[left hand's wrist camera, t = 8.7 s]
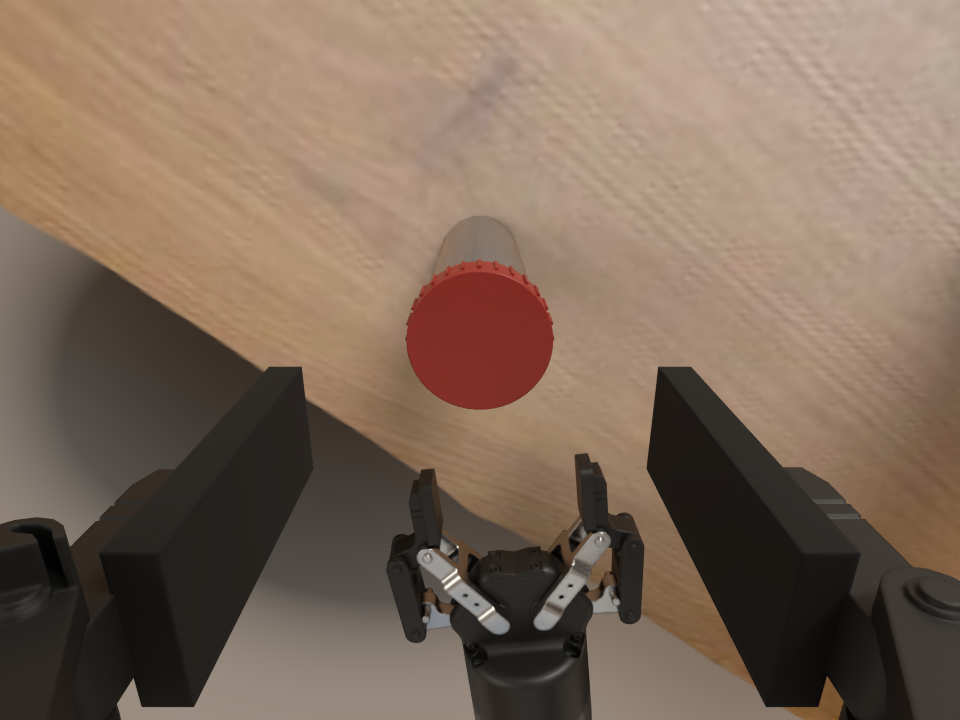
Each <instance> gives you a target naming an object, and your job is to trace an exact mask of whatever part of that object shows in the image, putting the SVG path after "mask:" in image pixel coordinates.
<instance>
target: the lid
mask: <svg viewBox="0 0 960 720" xmlns="http://www.w3.org/2000/svg"><path fill="white" fill-rule="evenodd" d="M411 310H413V312H412V313H410V316H409V318H408V321H407V324H406V325H408V329H407V335H406V341H407V351H408V356H409V360H410V362H411V365H412V368H413V370H414V372H415V373H416V375H417V377H418V378H419V379H420V381H421V382H422V383H423V384H424V386H425V387H426V388H427V389H428V390H430V391H431V392H432V393H433V394H434V395H436V396H437V397H439V398H440V399H442V400H444V401H446V402H448V403H450V404H453V405H455V406H458V407H462V408H467V409H476V410H478V409H492V408H497V407H501V406H504V405H507V404H510V403H512V402H514V401H516V400H518V399H520V398H521V397H522V396H524V395H525V394H527V393H528V392H529V391H530V390H531V389H532V388H533V387H534V386H535V385H536V384H537V383H538V382H539V380H540V379H541V378H542V376H543V374H544V373H545V371H546V369H547V367H548V365H549V361H550V358H551V355H552V349H553V340H554V336H553V332H552V326H551V325H553V321H552V319H551V316H550V314H549V312H548V313H547V311H546V310H548V306H547V304H546V301H545V299H544V298H543V299H542V298H541V297H540V293H539V290H538V288H537V286H536V285H534V286H533V285H532V284H531V283H530V282H529V281H528V279H527V276H526V275H525V274H523V275H521V274H520V273H519V272H517V271H515V270H514V269H513V266H511V265H510V266H509V267H507V266H504V265H502V264H498V261H496V260H494V262H487V261H481V259H478V261H472V262H465V260H464V261H462V263H461V264H458V265H455V266H453V267H450V266H447V267H446V270H445V271H443V272H441V273H440V274H438V275H436V274H435V275H433V278H432V280H431V281H430V282H429V283H428V284H427V285H426V286H425V285H424V286H423V287H422V289H421V292H420V294H419V298H418V299H416V298H415V300H414V303H413V305H412V308H411Z"/></svg>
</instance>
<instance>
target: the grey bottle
mask: <svg viewBox="0 0 960 720" xmlns="http://www.w3.org/2000/svg"><path fill="white" fill-rule="evenodd" d="M478 259H481V261H487V262H494V260H496V261H498V264H502V265H504V266H507V267H509V266H510V265H511V266H513V269H514V270H515V271H517V272H519V273H520V274H521V275H523V274H525V275H526V276H527V274H526V271H525V268H524V265H523V262H522V259H521V256H520V253H519V250H518V247H517V244H516V241H515V239H514V237H513V235H512V233H511V232H510V230H509V229H508V228H507V227H506V226H505V225H504V224H502V223H501V222H499V221H498V220H496V219H493V218H490V217H485V216H475V217H470V218H467V219H464V220H462V221H461V222H459V223H457V224H456V225H455V226H454V227H453V228H452V229H451V230H450V231H449V233H448V234H447V236H446V238H445V241H444V243H443V246H442V249H441V252H440V255H439V258H438V261H437V264H436V267H435V270H434V273H433V275H435V274H436V275H438V274H440V273H441V272H443V271H445V270H446V267H447V266H450V267H453V266H455V265H458V264H461V263H462V261H464V260H465V262H472V261H478ZM432 278H433V276H432ZM527 279H528V277H527ZM431 280H432V279H431ZM528 281H529V279H528Z"/></svg>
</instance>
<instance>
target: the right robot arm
mask: <svg viewBox="0 0 960 720" xmlns="http://www.w3.org/2000/svg"><path fill="white" fill-rule="evenodd" d="M575 470H576V484H577V498H578V509H579V513H580V516H579V517H578V518H577V520H576V521H575V522H574V523H573V525H572V526H571V527H570V529H569V530H568V531H566V530H564V531H562V532H561V534H560V535H559V536H558V537H557V539H556V540H555V541H554V543H553V544H552V545H551V547H550V548H549V549H548V550H547V552H546V551H542V550H541V549H540V546H538V547H528V548H524V549H521V550H518V551H515V552H512V551H504V550H497V551H488V556H485V557H482V556H481V555H480V554H479V553H477V552H476V551H475V550H474V549H473V548H471V547H470V546H469V545H468V544H467V543H466V542H464V541H462V540H460V541H457V540H455V539H454V538H453V537H452V536H451V535H449V534H448V533H447V532H446V531H445V530H443V529H442V525H443V517H442V511H441V505H440V499H439V493H438V487H437V481H436V475H435V470H434V469H424V470H421V474H420V479H419V480H414V482H413V485H412V490H411V495H410V500H409V506H410V511H411V516H412V522H413V527H414V533H413V534H411V535H405V534H399V535H397V536H395V537H394V538H393V541H392V546H391V548H392V549H391V554H390V559H389V561H388V564H387V569H386V571H387V575H388V578H389V581H390V585H391V588H392V592H393V595H394V598H395V602H396V605H397V609H398V612H399V615H400V619H401V622H402V625H403V629H404V632H405V636H406V638H407V639H408V640H409V641H410V642H413V643H419V642H422V641H423V640H424V639H425V638H426V631H427V630H431V629H438V628H446V627H452V628H453V630H454V631H455V632H456V633H457V634H458V635H459V636H460V638H461V640H462V643H463V649H464V655H465V661H466V667H467V673H468V679H469V684H470V690H471V696H472V703H473V708H474V714H475V720H592V715H591V698H590V682H589V668H588V654H587V640H586V626H587V624H588V622H589V620H590V619H591V617H592V614H599V613H619V617H620V620H621V621H622V622H623V623H625V624H633V623H636V622H637V621H638V620H639V619H640V617H641V601H642V581H643V562H644V544H643V542H642V539H641V537H640V534H639V532H638V529H637V527H636V524H635V522H634V519H633V517H632V516H631V515H630V514H628V513H620V514H618V515H616V516H615V515H611V514H609V513H608V504H607V484H606V481H605V478H604V475H603V473H602V470H601V468H600V466H599V464H598V462H594V463H591V462H590V459H589V456H588V453H585V454H575ZM608 547H610V548H612V572H611V571H606V572H605V573H604V577H603V578H602V580H601V583H600V585H599V587H598V588H597V589H595V590H591V591H589V589H588V587H587V586H586V585H585V583H586V582H587V581H588V579H589V577H590V575H591V569H592V567H593V565H594V564H595V563H596V562H597V560H598V559H599V558H600V557H601V555H602V554H603V553H604V552H605V550H606V549H607V548H608ZM420 565H421V566H423V567H424V568H425V569H426V570H427V571H429V572H430V573H431V574H432V575H434V576H435V577H436V578H437V579H439V580H440V581H441V583H442V585H443V588H444V590H445V591H446V592H447V593H448V594H449V595H450V596H451V597H452V600H451V603H450V604H445V603H442V602H441V601H440V600H439V599H438V597H437V596H436V594H434V593H433V590H432V589H431V588H426V589H425V586H424V582H423V578H422V575H421V571H420V567H419V566H420Z"/></svg>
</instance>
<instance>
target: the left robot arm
mask: <svg viewBox="0 0 960 720" xmlns="http://www.w3.org/2000/svg"><path fill="white" fill-rule="evenodd" d="M312 470H313V462H312V453H311V444H310V435H309V427H308V418H307V409H306V400H305V392H304V383H303V374H302V367H268V369H267V370H266V371H265V372H264V373H263V374H262V375H261V376H260V377H259V378H258V379H257V381H256V382H255V383H254V384H253V385H252V386H251V387H250V388H249V389H248V390H247V392H246V393H245V394H244V395H243V396H242V397H241V398H240V399H239V400H238V401H237V402H236V404H235V405H234V406H233V407H232V408H231V409H230V410H229V411H228V412H227V413H226V414H225V416H224V417H223V418H222V419H221V420H220V421H219V422H218V423H217V424H216V425H215V427H214V428H213V429H212V430H211V431H210V432H209V433H208V434H207V435H206V436H205V438H204V439H203V440H202V441H201V442H200V443H199V444H198V445H197V446H196V447H195V448H194V450H193V451H192V452H191V453H190V454H189V455H188V456H187V457H186V458H185V459H184V460H183V462H182V463H181V464H180V465H179V466H178V467H177V468H176V469H159V470H157V471H155V472H153V473H152V474H150V475H148V476H146V477H145V478H143V479H141V480H140V481H138V482H136V483H134V484H133V485H132V486H131V487H130V488H129V489H128V490H127V491H126V492H125V493H124V494H123V495H122V496H121V497H120V498H119V499H118V500H117V501H116V502H115V505H114V506H111V507H110V508H109V509H108V510H107V511H106V512H105V513H104V514H103V515H102V516H101V517H100V520H99V521H96V522H95V523H94V524H93V525H92V526H91V527H90V528H89V529H88V530H87V531H86V532H85V533H84V534H83V535H82V536H81V537H80V538H79V539H78V540H77V541H76V542H75V543H74V544H73V545H72V546H71V547H70V546H69V543H68V540H67V536H66V533H65V529H64V526H63V525H62V524H60V523H59V522H57V521H56V520H54V519H47V518H38V517H36V518H28V519H19V520H14V521H10V522H6V523H3V524H0V720H121V718H120V713H119V710H118V706H117V703H118V701H119V700H120V698H121V696H122V695H123V693H124V692H125V690H126V689H127V687H128V686H129V684H130V682H131V681H132V679H133V678H134V681H135V684H136V688H137V692H138V695H139V699H140V702H141V706H142V707H194V706H195V704H196V702H197V700H198V698H199V696H200V694H201V692H202V690H203V688H204V686H205V684H206V682H207V680H208V678H209V676H210V674H211V672H212V670H213V668H214V666H215V664H216V662H217V660H218V658H219V656H220V654H221V652H222V650H223V648H224V646H225V644H226V642H227V640H228V638H229V636H230V634H231V632H232V630H233V628H234V626H235V624H236V622H237V620H238V618H239V616H240V614H241V612H242V610H243V608H244V606H245V604H246V602H247V600H248V598H249V596H250V594H251V592H252V590H253V588H254V586H255V584H256V582H257V580H258V578H259V576H260V574H261V572H262V570H263V568H264V566H265V564H266V562H267V560H268V558H269V556H270V554H271V552H272V550H273V548H274V546H275V544H276V542H277V540H278V538H279V536H280V534H281V532H282V530H283V528H284V526H285V524H286V522H287V520H288V518H289V516H290V514H291V512H292V510H293V508H294V506H295V504H296V502H297V500H298V498H299V496H300V494H301V492H302V490H303V488H304V486H305V484H306V482H307V480H308V478H309V476H310V474H311V472H312ZM647 470H648V472H649V474H650V476H651V478H652V480H653V482H654V484H655V486H656V488H657V490H658V492H659V494H660V496H661V498H662V500H663V502H664V504H665V506H666V508H667V510H668V512H669V514H670V516H671V518H672V520H673V522H674V524H675V526H676V528H677V530H678V532H679V534H680V536H681V538H682V540H683V542H684V544H685V546H686V548H687V550H688V552H689V554H690V556H691V558H692V560H693V562H694V564H695V566H696V568H697V570H698V572H699V574H700V576H701V578H702V580H703V582H704V584H705V586H706V588H707V590H708V592H709V594H710V596H711V598H712V600H713V602H714V604H715V606H716V608H717V610H718V612H719V614H720V616H721V618H722V620H723V622H724V624H725V626H726V628H727V630H728V632H729V634H730V636H731V638H732V640H733V642H734V644H735V646H736V648H737V650H738V652H739V654H740V656H741V658H742V660H743V662H744V664H745V666H746V668H747V670H748V672H749V674H750V676H751V678H752V680H753V682H754V684H755V686H756V688H757V690H758V692H759V694H760V696H761V698H762V700H763V702H764V704H765V706H766V707H818V706H819V702H820V699H821V695H822V692H823V688H824V684H825V681H826V677H827V676H828V678H829V679H830V681H831V682H832V684H833V686H834V687H835V689H836V690H837V692H838V693H839V695H840V696H841V698H842V699H843V701H844V703H843V706H842V710H841V713H840V716H839V720H960V581H959V580H957V579H955V578H953V577H951V576H948V575H945V574H942V573H939V572H936V571H933V570H930V569H924V568H917V567H912V566H911V565H910V564H909V563H908V562H907V561H906V560H905V559H904V558H903V557H902V556H901V555H900V554H899V553H898V552H897V551H896V550H895V549H894V548H893V547H892V546H891V545H890V544H889V543H888V542H887V541H886V540H885V539H884V538H883V537H882V536H881V535H880V534H879V533H878V532H877V531H876V530H875V529H874V528H873V527H872V526H871V525H870V524H869V523H868V522H867V521H866V520H865V519H861V515H860V514H859V513H858V512H857V511H856V510H855V509H854V508H853V507H852V506H851V505H850V504H846V500H845V499H844V498H843V497H842V496H841V495H840V494H839V493H838V492H837V491H836V490H835V489H834V488H833V487H832V486H831V485H830V484H829V483H828V482H826V481H824V480H823V479H821V478H819V477H817V476H816V475H814V474H812V473H811V472H809V471H807V470H805V469H804V468H802V467H782V466H781V465H780V464H779V463H778V462H777V460H776V459H775V458H774V457H773V456H772V455H771V454H770V453H769V452H768V451H767V449H766V448H765V447H764V446H763V445H762V444H761V443H760V442H759V441H758V440H757V439H756V437H755V436H754V435H753V434H752V433H751V432H750V431H749V430H748V429H747V428H746V427H745V425H744V424H743V423H742V422H741V421H740V420H739V419H738V418H737V417H736V416H735V414H734V413H733V412H732V411H731V410H730V409H729V408H728V407H727V406H726V405H725V404H724V402H723V401H722V400H721V399H720V398H719V397H718V396H717V395H716V394H715V393H714V392H713V390H712V389H711V388H710V387H709V386H708V385H707V384H706V383H705V382H704V381H703V380H702V378H701V377H700V376H699V375H698V374H697V373H696V372H695V371H694V370H693V369H692V367H658V374H657V383H656V392H655V400H654V409H653V418H652V427H651V435H650V444H649V453H648V461H647Z"/></svg>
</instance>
